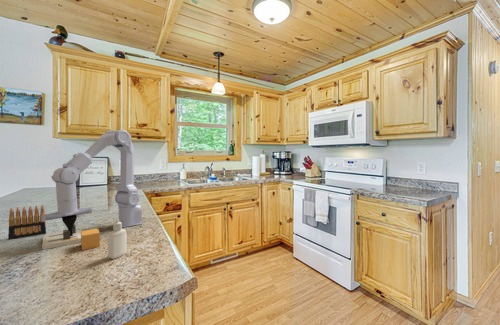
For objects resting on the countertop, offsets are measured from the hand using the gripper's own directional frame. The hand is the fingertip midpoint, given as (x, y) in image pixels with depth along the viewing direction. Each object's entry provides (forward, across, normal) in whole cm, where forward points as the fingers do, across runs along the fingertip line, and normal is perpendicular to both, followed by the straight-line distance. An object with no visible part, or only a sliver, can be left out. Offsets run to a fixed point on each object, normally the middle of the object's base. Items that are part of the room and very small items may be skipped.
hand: (69, 235), depth 85 cm
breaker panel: (+2, -2, +3) cm, 4 cm away
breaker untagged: (+1, +1, +6) cm, 7 cm away
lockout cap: (+2, +5, -9) cm, 11 cm away
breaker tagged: (+1, -1, 0) cm, 1 cm away
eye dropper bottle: (+3, +11, -24) cm, 27 cm away
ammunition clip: (+2, -12, +18) cm, 22 cm away
